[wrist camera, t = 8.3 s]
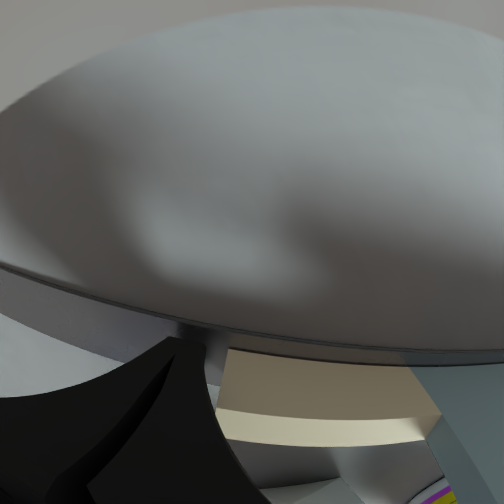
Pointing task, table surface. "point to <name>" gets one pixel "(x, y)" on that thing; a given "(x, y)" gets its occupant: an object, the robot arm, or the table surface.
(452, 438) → the cleaver
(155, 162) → the table surface
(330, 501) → the die
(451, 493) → the supplement bottle
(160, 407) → the robot arm
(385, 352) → the sill
